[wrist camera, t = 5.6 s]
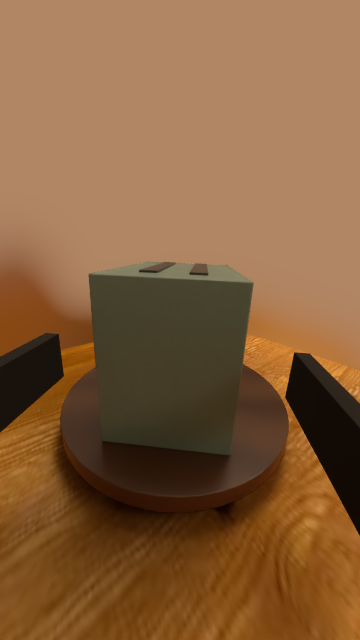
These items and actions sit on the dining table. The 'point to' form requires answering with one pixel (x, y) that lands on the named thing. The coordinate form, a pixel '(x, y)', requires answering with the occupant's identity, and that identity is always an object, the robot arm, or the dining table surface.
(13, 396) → the robot arm
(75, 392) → the toaster
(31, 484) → the dining table surface
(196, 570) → the dining table surface
